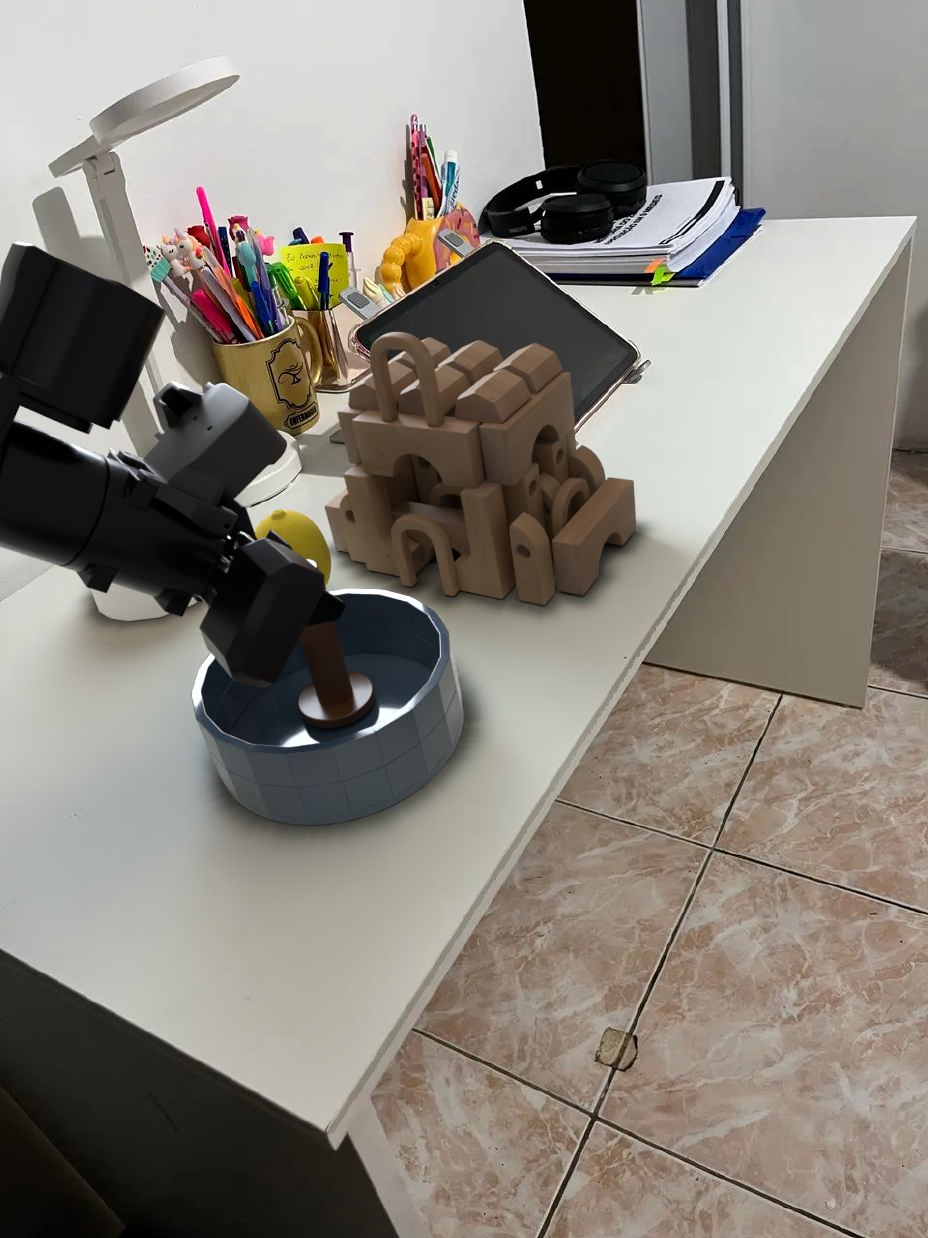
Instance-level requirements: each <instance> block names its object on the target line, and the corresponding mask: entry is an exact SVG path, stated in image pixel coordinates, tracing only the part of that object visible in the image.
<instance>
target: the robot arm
mask: <svg viewBox="0 0 928 1238" xmlns="http://www.w3.org/2000/svg"><path fill="white" fill-rule="evenodd" d="M167 314H168V312H167V311H166V309H164V308H163V307H162V306H160V305H159V304H157V303H155V302H154V301H153V300H151V299H149V298H148V297H146V296H144V295H143V294H141V293H139V292H138V291H136V290H135V289H133V288H131V287H129V286H127V285H125V284H124V283H122V282H119V281H117V280H113V279H109V278H105V277H102V276H98V275H96V274H94V273H92V272H89V271H88V270H86V269H83V268H81V267H79V266H77V265H75V264H73V263H70V262H68V261H66V260H64V259H61V258H60V257H59V258H58V257H56V256H54V255H52V254H51V253H49V252H47V251H46V250H43V249H42V248H40V247H39V246H36V245H34V244H30V243H26V242H22V241H16V242H13V243H11V245H10V248H9V249H8V252H7V255H6V257H5V259H4V262H3V265H2V269H1V275H0V548H2V549H4V550H8V551H10V552H14V553H17V554H20V555H23V556H27V557H29V558H33V559H36V560H39V561H42V562H45V563H48V564H51V565H54V566H58V567H60V568H63V569H67V570H70V571H73V572H76V574H77V575H78V577H79V579H81V581H82V583H83V584H84V586H85V588H88V589H90V590H91V589H94V590H97V591H100V592H103V593H107V592H108V590H109V588H110V586H111V583H113V584H116V585H119V586H123V587H126V588H129V589H132V590H135V591H138V592H141V593H144V594H147V595H151V596H153V598H154V599H155V600H156V601H157V603H158V604H159V605H160V606H161V608H162V609H163V610H164V611H165V612H168V613H170V614H171V615H174V616H176V617H181V618H183V616H184V615H185V613H186V610H187V609H188V608H189V607H188V605H189V603H190V601H191V599H192V597H193V598H194V599H195V600H196V601H198V602H199V603H204V604H205V605H206V606H207V608H208V609H207V611H206V613H205V615H204V617H203V619H202V620H201V623H200V625H199V627H198V628H199V631H200V634H201V636H202V638H203V641H204V644H205V646H206V649H207V650H208V651H209V654H210V653H211V654H212V655H213V656H214V657H215V659H216V660H217V661H218V662H219V663H220V665H221V666H222V667H223V668H224V669H225V671H226V672H227V673H228V674H229V676H230V677H231V678H232V679H233V680H236V681H240V682H243V683H247V684H251V685H254V686H258V687H262V688H268V687H270V686H272V685H274V684H276V682H277V680H278V678H279V676H280V674H281V672H282V670H283V668H284V666H285V665H286V663H287V661H288V659H289V657H290V655H291V653H292V651H293V649H294V647H295V645H296V644H297V642H298V640H299V638H300V636H301V634H302V632H303V630H304V628H305V627H307V626H312V625H317V624H322V623H327V622H332V621H337V620H338V619H339V618H340V617H341V615H342V613H343V611H344V609H345V607H346V604H345V603H344V602H343V601H342V600H340V599H339V598H337V597H335V596H334V595H332V594H331V593H329V592H330V591H328V590H327V587H326V586H325V575H324V574H323V573H322V572H321V571H319V570H318V569H317V568H316V567H315V566H313V565H312V564H311V563H310V562H309V561H307V560H306V559H305V558H304V557H303V556H302V555H300V554H298V553H296V552H294V551H293V549H292V547H291V546H290V545H289V544H288V543H287V542H286V541H285V540H284V539H282V538H281V537H280V536H279V535H278V534H276V533H275V532H274V531H273V530H272V529H270V530H269V532H268V534H267V536H266V538H264V537H263V538H261V539H259V540H258V539H257V538H256V535H255V530H254V527H253V523H252V521H251V517H250V515H249V511H248V509H247V507H246V506H244V505H243V504H242V503H241V502H240V501H238V500H237V499H236V498H237V497H238V496H239V495H240V494H242V492H243V491H244V490H245V489H247V488H248V486H249V485H250V484H251V483H253V481H254V480H255V479H256V478H257V477H258V476H259V475H260V474H261V473H262V472H263V471H264V470H265V469H266V468H267V467H268V466H273V465H275V464H277V462H278V461H279V460H280V459H282V457H283V455H284V454H285V453H286V451H287V447H288V442H287V440H286V439H285V437H284V436H283V435H282V434H281V433H280V432H279V430H278V429H277V428H275V426H274V425H273V423H271V421H269V420H268V418H267V417H266V415H264V414H263V413H262V412H261V410H260V409H259V408H258V407H257V405H255V404H254V402H252V400H251V399H250V398H249V397H248V396H246V395H245V394H244V393H241V392H240V391H239V390H237V389H235V388H234V387H232V386H230V385H228V384H227V383H224V382H221V383H218V384H213V383H212V382H210V381H208V382H207V383H206V384H205V385H203V389H205V391H206V392H204V393H203V392H202V391H200V390H198V389H195V388H192V387H189V386H187V385H184V384H181V383H179V382H175V381H172V380H171V381H169V382H168V383H167V384H166V385H165V386H164V387H162V388H161V390H159V391H158V393H156V395H154V397H153V398H152V405H153V407H154V410H155V414H156V416H157V420H158V422H159V425H160V428H161V430H162V431H161V430H157V432H156V433H155V434H154V438H156V439H157V440H158V441H157V443H156V444H154V446H153V447H152V448H151V449H150V450H149V451H148V453H147V454H146V455H145V456H144V457H140V456H139V455H135V454H133V453H131V452H129V451H126V450H123V449H119V451H118V453H117V452H115V453H113V452H111V451H110V452H109V451H108V454H107V456H105V455H103V454H100V453H97V452H96V451H93V450H90V449H88V448H86V447H83V446H81V445H78V444H77V443H73V442H72V441H69V440H67V439H65V438H61V437H59V436H57V435H54V434H52V433H50V432H48V431H45V430H42V429H40V428H38V427H36V426H34V425H31V424H28V423H26V422H23V421H20V420H18V419H16V416H17V414H18V412H19V409H20V407H23V408H24V409H27V410H29V411H31V412H33V413H36V414H38V415H39V416H43V417H45V418H47V419H50V420H52V421H54V422H56V423H59V424H61V425H64V426H66V427H68V428H71V429H73V430H75V431H78V432H81V433H83V434H86V435H90V433H91V432H92V429H93V427H94V425H96V426H98V427H101V428H102V429H104V430H105V429H106V430H107V431H110V430H111V428H112V426H113V423H114V421H115V422H118V423H120V422H121V421H122V418H123V417H124V414H125V411H126V409H127V406H128V404H129V402H130V400H131V397H132V395H133V393H134V391H135V388H136V386H137V384H138V381H139V379H140V376H141V374H142V372H143V370H144V367H145V365H146V363H147V361H148V358H149V356H150V353H151V351H152V349H153V346H154V345H155V342H156V339H157V338H158V335H159V334H160V331H161V328H162V326H163V325H164V324H163V323H164V321H165V319H166V317H167ZM116 453H117V454H116ZM198 602H197V603H198Z"/></svg>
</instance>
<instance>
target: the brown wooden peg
mask: <svg viewBox="0 0 928 1238" xmlns="http://www.w3.org/2000/svg"><path fill="white" fill-rule="evenodd" d="M306 560H307V561H309V562H310V563H311V564H312V565H313V566H315V567H316V568H317V569H318V570H319V568H318V565H317V563H316V562H315V561H313V560H310V559H306ZM299 639H300V642H301V646H302V649H303V652H304V655H305V658H306V662H307V665H308V668H309V671H310V675H311V678H312V682H311V683H309V684H308V685H307V686H306V687H305V688H304V689H303V690H302V692H301V694H300V696H299V699H298V708H299V711H300V714H301V716H302V718H303V719H304V720H305V721H306V722H307V723H308V724H310V725H312V726H315V727H319V728H337V727H342V726H345V725H348V724H351V723H353V722H355V721H357V720H358V719H360V718H361V717H363V716H364V715H365V714H366V713H367V712H368V711H369V710H370V709H371V707H372V706H373V704H374V701H375V691H374V687H373V684H372V682H371V680H370V679H369V678H368V677H367V676H365V675H363V674H361V673H359V672H355V671H347V668H346V665H345V661H344V657H343V654H342V650H341V647H340V643H339V640H338V636H337V632H336V629H335V625H334V622H333V621H332V622H327V623H322V624H317V625H312V626H307V627H305V628H304V630H303V632H302V634H301V636H300V638H299Z"/></svg>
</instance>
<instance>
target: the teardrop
mask: <svg viewBox="0 0 928 1238" xmlns="http://www.w3.org/2000/svg"><path fill="white" fill-rule="evenodd" d="M110 451H111V452H113V453H116V454H118V453H117V452H116V451H114V450H113V449H112V448H111V447H110V446H108V453H109V452H110ZM90 591H91V594H92V596H93V599H94V601H95V604H96V607H97V611H98V612H99V613H100V614H101V615H103V616H106V617H107V618H109V619H112V620H119V621H125V622H132V621H140V620H141V621H142V620H148V619H157V618H161V617H165V616H167V615H170V614H171V613H168V612H165V611H164V610H163V609H162V608H161V606H160V605H159V604H158V603H157V601H156V600H155V599H154V598H153V596H151V595H147V594H144V593H141V592H138V591H135V590H132V589H129V588H126V587H123V586H119V585H116V584H113V583H111V586H110V588H109V590H108V592H107V593H103V592H100V591H97V590H94V589H91V588H90ZM197 603H198V601H196V600H195V599H194V598H193V597H192V599H191V601H190V603H189V605H188V607H187V608H189V607H192V606H193V605H195V604H197Z"/></svg>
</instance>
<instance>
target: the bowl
mask: <svg viewBox="0 0 928 1238" xmlns="http://www.w3.org/2000/svg"><path fill="white" fill-rule="evenodd" d="M328 592H329V593H331V594H332V595H334V596H335V597H337V598H339V599H340V600H342V601H343V602H344V603H345V604H346V607H345V609H344V611H343V613H342V615H341V617H340V618H339V619H338V620H337V621H333V622H334V625H335V629H336V632H337V636H338V640H339V643H340V647H341V650H342V654H343V657H344V661H345V665H346V668H347V671H355V672H359V673H361V674H363V675H365V676H367V677H368V678H369V679H370V680H371V682H372V684H373V687H374V691H375V701H374V704H373V706H372V707H371V709H370V710H369V711H368V712H367V713H366V714H365V715H364V716H363V717H361V718H360V719H358V720H357V721H355V722H353V723H351V724H348V725H345V726H342V727H337V728H319V727H315V726H312V725H310V724H308V723H307V722H306V721H305V720H304V719H303V718H302V716H301V714H300V711H299V708H298V699H299V696H300V694H301V692H302V690H303V689H304V688H305V687H306V686H307V685H308V684H309V683H311V682H312V678H311V675H310V671H309V668H308V665H307V662H306V658H305V655H304V652H303V649H302V646H301V642H300V639H299V640H298V642H297V644H296V645H295V647H294V649H293V651H292V653H291V655H290V657H289V659H288V661H287V663H286V665H285V666H284V668H283V670H282V672H281V674H280V676H279V678H278V680H277V682H276V684H274V685H272V686H270V687H268V688H262V687H258V686H254V685H251V684H247V683H243V682H240V681H236V680H233V679H232V678H231V677H230V676H229V674H228V673H227V672H226V671H225V669H224V668H223V667H222V666H221V665H220V663H219V662H218V661H217V660H216V659H215V657H214V656H213V655H212V654H211V653H210V652H209V655H207V657H206V659H205V660H204V661H203V662H202V664H201V665H199V666H200V667H199V668H198V670H197V673H196V676H195V680H194V683H193V686H192V689H191V693H190V696H191V702H192V707H193V712H194V717H195V720H196V722H197V725H198V727H199V730H200V732H201V735H202V737H203V739H204V741H205V744H206V746H207V749H208V751H209V753H210V755H211V757H212V761H213V763H214V765H215V767H216V770H217V772H218V775H219V778H220V780H221V781H222V782H223V783H224V786H225V787H226V789H227V790H228V792H229V793H230V795H231V796H232V798H234V799H235V801H236V802H237V803H239V804H240V805H242V807H244V808H245V809H247V810H248V811H250V812H252V813H254V814H256V815H257V816H260V817H261V818H265V819H268V820H270V821H274V822H278V823H283V824H289V825H297V826H298V825H300V826H321V825H332V824H338V823H343V822H347V821H353V820H356V819H357V820H358V819H360V818H363V817H366V816H370V815H372V814H375V813H378V812H380V811H383V810H385V809H387V808H389V807H391V806H393V805H395V804H398V803H400V802H401V801H403V800H405V799H406V798H408V797H409V796H411V795H413V794H414V793H415V792H418V790H420V789H421V788H422V787H423V786H424V785H426V784H427V783H428V782H430V781H431V780H432V779H433V778H434V777H435V776H436V775H437V774H438V773H439V772H440V771H441V770H442V769H443V768H444V767H445V765H446V764H447V762H448V761H449V760H450V758H451V757H452V755H453V753H454V751H455V750H456V748H457V746H458V744H459V741H460V738H461V736H462V731H463V728H464V706H463V699H462V698H463V697H462V691H461V685H460V679H459V675H458V669H457V665H456V661H455V655H454V651H453V645H452V640H451V636H450V635H451V634H450V631H449V630H448V628H447V627H446V625H445V624H444V622H443V620H442V619H441V618H440V616H439V613H438V612H436V610H434V609H432V608H430V607H429V606H428V605H426V604H424V603H423V602H421V601H419V600H418V599H416V598H415V597H413V596H409V595H405V594H402V593H398V592H395V591H394V592H393V591H391V590H386V589H377V588H344V589H343V588H342V589H337V590H330V591H328Z"/></svg>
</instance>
